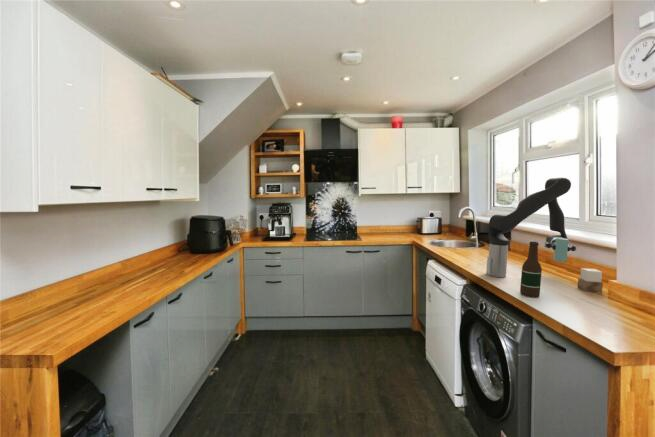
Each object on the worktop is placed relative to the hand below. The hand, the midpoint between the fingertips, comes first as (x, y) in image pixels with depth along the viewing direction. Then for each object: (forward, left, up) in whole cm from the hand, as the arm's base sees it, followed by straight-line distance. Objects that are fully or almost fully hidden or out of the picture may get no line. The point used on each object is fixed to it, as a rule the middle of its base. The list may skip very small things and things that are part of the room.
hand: (561, 248), depth 166 cm
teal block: (+1, +2, -7) cm, 7 cm away
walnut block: (+13, -1, -19) cm, 23 cm away
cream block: (+13, -1, -14) cm, 20 cm away
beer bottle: (-20, -19, -19) cm, 34 cm away
